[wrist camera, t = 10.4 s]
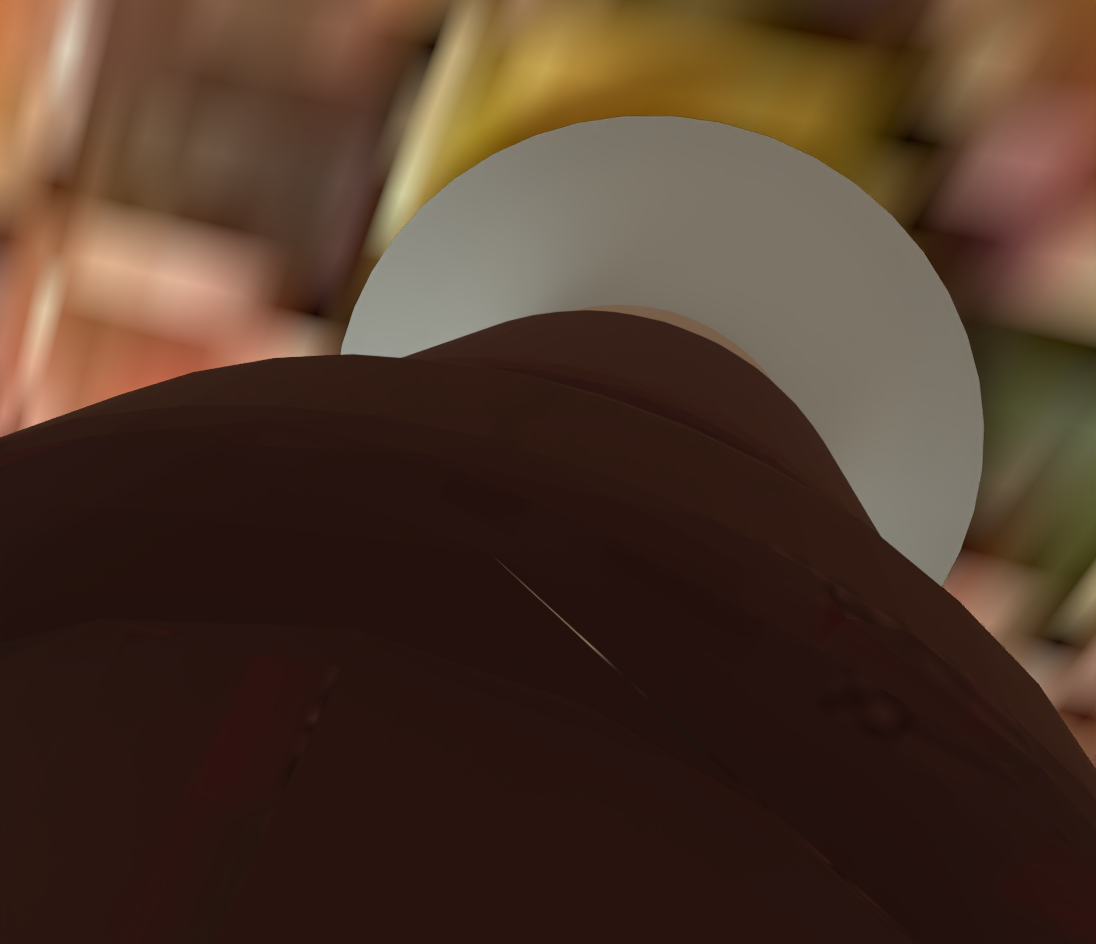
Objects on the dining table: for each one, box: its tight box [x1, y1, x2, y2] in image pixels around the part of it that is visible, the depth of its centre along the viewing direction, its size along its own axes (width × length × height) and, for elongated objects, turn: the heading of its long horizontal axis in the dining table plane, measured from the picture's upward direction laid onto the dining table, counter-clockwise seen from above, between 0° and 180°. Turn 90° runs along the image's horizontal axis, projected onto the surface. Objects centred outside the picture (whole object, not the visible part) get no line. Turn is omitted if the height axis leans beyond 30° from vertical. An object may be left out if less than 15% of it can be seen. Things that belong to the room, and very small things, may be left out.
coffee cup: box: [0, 305, 1096, 944], centre depth 11 cm, size 10×10×15 cm
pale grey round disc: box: [340, 116, 984, 587], centre depth 19 cm, size 14×14×1 cm
